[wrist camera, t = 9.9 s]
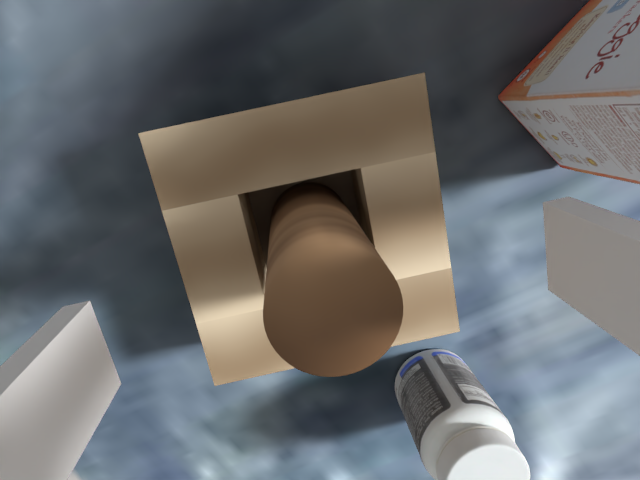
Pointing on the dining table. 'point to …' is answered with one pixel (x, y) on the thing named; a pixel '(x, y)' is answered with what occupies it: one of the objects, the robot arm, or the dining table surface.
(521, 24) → the dining table surface
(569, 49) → the cracker box
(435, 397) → the pill bottle
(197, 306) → the bore block
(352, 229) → the pin
